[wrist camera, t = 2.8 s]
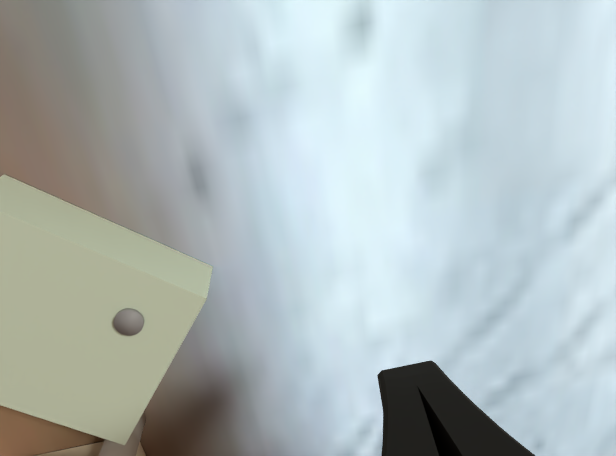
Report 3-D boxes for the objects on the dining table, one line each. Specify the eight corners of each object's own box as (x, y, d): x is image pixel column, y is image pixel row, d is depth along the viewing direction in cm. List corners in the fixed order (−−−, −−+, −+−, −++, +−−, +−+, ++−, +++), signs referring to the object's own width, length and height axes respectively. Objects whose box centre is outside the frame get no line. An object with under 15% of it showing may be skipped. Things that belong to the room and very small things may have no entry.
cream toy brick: (-55, 334, 20) (-98, 378, 17) (4, 174, 18) (-36, 199, 15) (138, 402, 22) (123, 449, 20) (212, 266, 20) (206, 301, 17)
